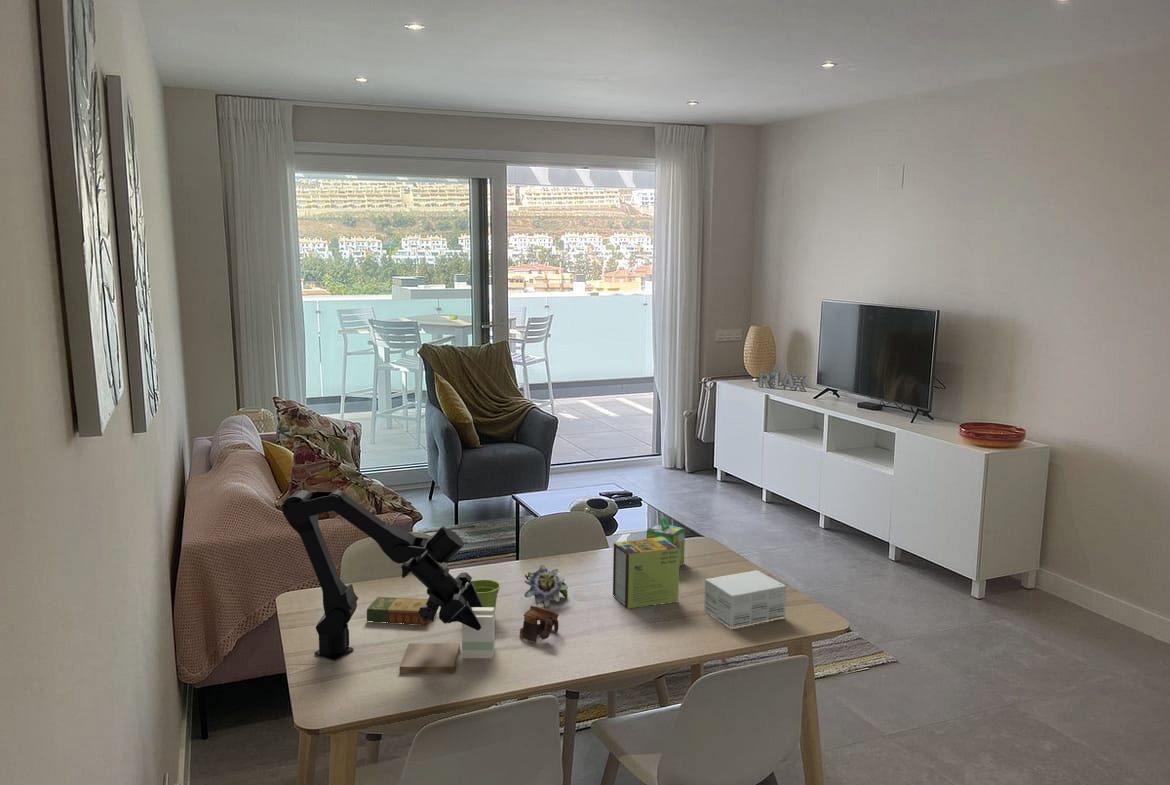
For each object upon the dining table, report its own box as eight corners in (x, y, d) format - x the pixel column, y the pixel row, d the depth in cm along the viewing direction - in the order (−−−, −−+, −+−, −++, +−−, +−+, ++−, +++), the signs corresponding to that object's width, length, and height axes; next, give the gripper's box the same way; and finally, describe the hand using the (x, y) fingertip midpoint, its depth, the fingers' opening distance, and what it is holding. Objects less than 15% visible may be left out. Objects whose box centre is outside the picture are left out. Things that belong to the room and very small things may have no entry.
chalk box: (672, 572, 258) (673, 524, 256) (644, 566, 262) (646, 519, 260) (685, 563, 266) (686, 516, 263) (658, 558, 270) (659, 512, 268)
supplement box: (755, 602, 236) (756, 569, 235) (785, 620, 224) (787, 585, 223) (702, 611, 229) (703, 577, 228) (730, 630, 217) (732, 595, 216)
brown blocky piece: (510, 634, 214) (521, 602, 216) (543, 645, 218) (553, 613, 220) (531, 641, 203) (542, 606, 206) (564, 652, 207) (575, 618, 210)
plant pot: (456, 617, 223) (456, 585, 221) (485, 607, 229) (485, 576, 228) (478, 628, 216) (478, 595, 215) (507, 618, 223) (507, 586, 221)
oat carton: (462, 658, 200) (461, 613, 198) (464, 647, 205) (464, 604, 204) (492, 658, 200) (492, 613, 198) (494, 647, 206) (494, 604, 204)
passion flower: (546, 625, 232) (524, 597, 226) (532, 604, 241) (511, 576, 235) (580, 599, 233) (559, 571, 227) (565, 579, 243) (545, 551, 237)
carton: (428, 627, 217) (427, 611, 217) (366, 624, 219) (365, 608, 218) (436, 613, 226) (436, 598, 225) (377, 610, 227) (376, 595, 226)
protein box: (679, 602, 235) (680, 547, 233) (627, 609, 229) (628, 553, 227) (661, 588, 244) (663, 536, 242) (611, 595, 239) (612, 541, 237)
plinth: (399, 673, 192) (399, 666, 192) (409, 649, 204) (408, 643, 204) (453, 673, 192) (453, 666, 192) (460, 649, 204) (459, 643, 204)
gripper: (415, 585, 209) (461, 628, 211) (401, 615, 191) (452, 662, 193) (447, 553, 209) (493, 597, 211) (437, 581, 190) (487, 628, 192)
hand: (481, 621), depth 202 cm, fingers open, 9 cm apart
